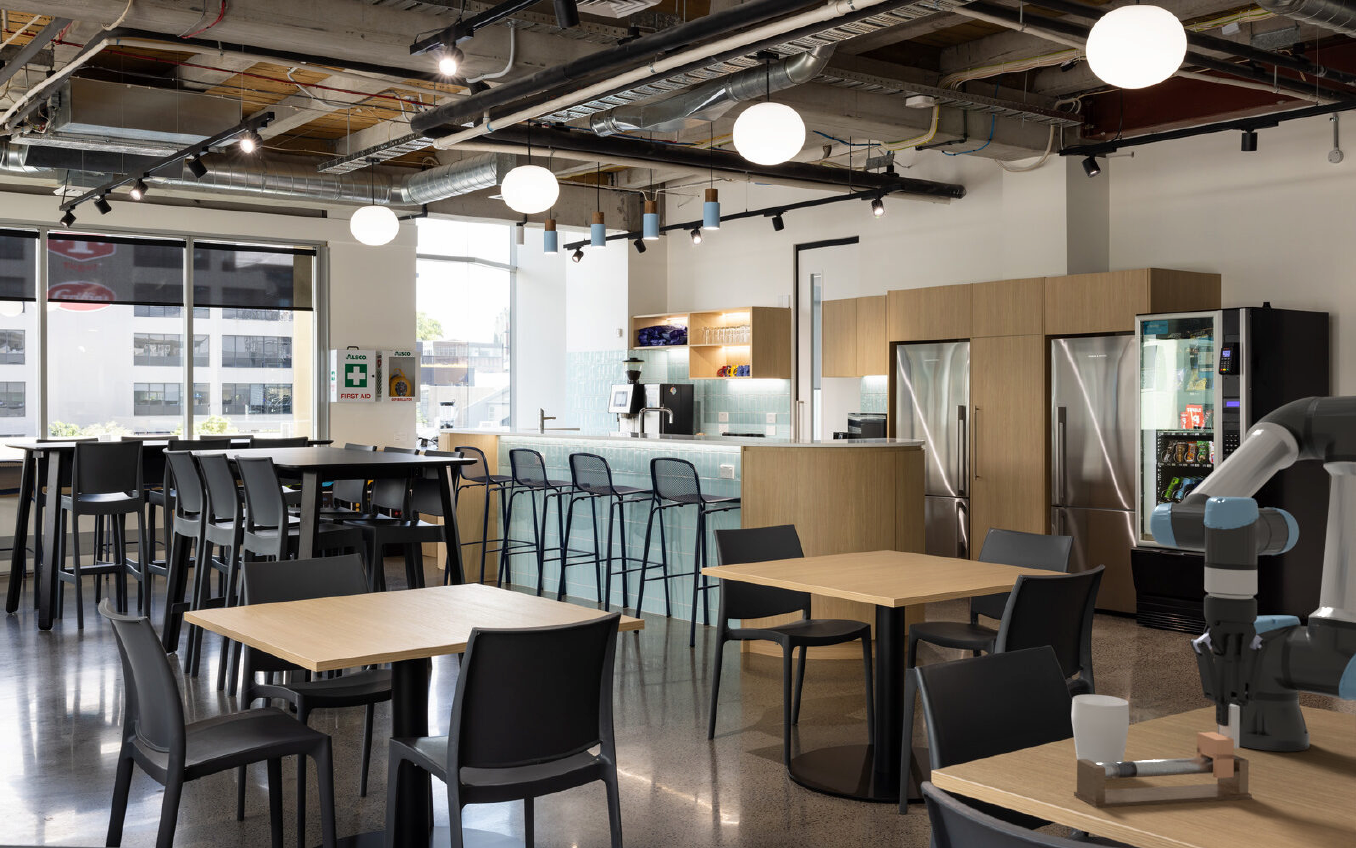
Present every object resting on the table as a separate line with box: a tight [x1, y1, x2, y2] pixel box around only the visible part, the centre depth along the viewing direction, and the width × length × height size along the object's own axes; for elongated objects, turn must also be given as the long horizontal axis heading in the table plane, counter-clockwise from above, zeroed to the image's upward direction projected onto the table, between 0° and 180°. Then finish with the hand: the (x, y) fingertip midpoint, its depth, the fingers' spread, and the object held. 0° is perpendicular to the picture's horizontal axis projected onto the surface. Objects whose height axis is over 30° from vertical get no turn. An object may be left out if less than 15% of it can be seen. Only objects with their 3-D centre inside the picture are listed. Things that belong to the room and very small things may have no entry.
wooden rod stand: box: [1073, 754, 1253, 808], centre depth 178 cm, size 27×6×6 cm, turn 103°
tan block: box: [1196, 731, 1235, 779], centre depth 180 cm, size 3×5×6 cm, turn 13°
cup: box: [1071, 694, 1130, 763], centre depth 191 cm, size 9×9×12 cm
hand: (1229, 746), depth 180 cm, fingers closed
